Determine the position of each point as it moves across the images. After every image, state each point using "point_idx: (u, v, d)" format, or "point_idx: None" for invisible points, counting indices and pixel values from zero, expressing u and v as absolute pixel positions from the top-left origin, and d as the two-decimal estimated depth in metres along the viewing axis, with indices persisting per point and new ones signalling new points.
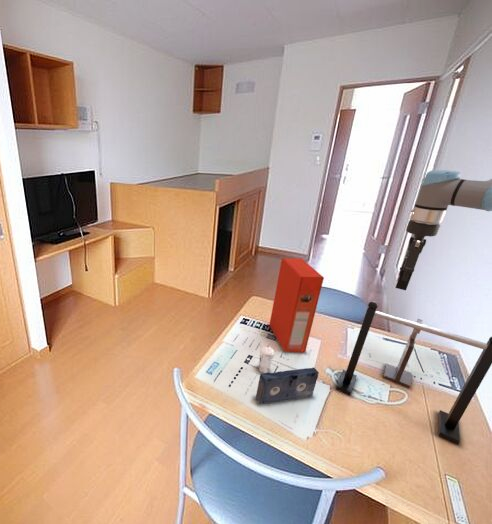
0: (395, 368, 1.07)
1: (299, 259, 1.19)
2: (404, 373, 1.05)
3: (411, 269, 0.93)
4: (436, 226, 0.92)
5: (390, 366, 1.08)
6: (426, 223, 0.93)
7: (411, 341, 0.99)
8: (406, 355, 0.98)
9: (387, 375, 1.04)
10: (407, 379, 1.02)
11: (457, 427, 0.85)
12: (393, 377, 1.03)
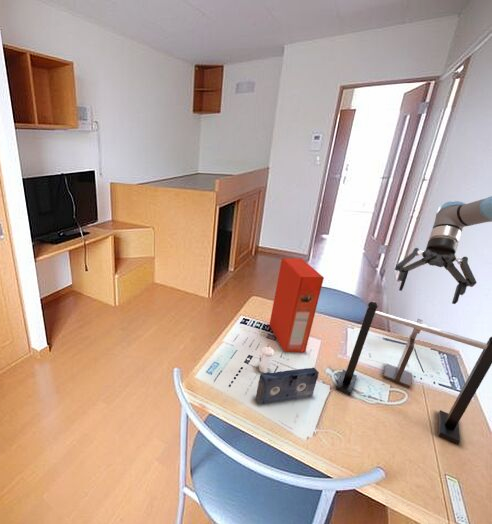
0: (395, 368, 1.07)
1: (299, 259, 1.19)
2: (404, 373, 1.05)
3: None
4: (436, 237, 1.05)
5: (390, 366, 1.08)
6: None
7: (411, 341, 0.99)
8: (406, 355, 0.98)
9: (387, 375, 1.04)
10: (407, 379, 1.02)
11: (457, 427, 0.85)
12: (393, 377, 1.03)
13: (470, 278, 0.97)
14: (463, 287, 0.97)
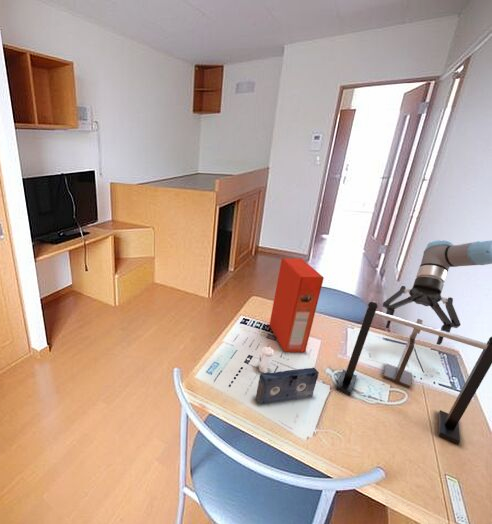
0: (395, 368, 1.07)
1: (299, 259, 1.19)
2: (404, 373, 1.05)
3: None
4: (422, 277, 1.07)
5: (390, 366, 1.08)
6: (418, 277, 1.09)
7: (411, 341, 0.99)
8: (406, 355, 0.98)
9: (387, 375, 1.04)
10: (407, 379, 1.02)
11: (457, 427, 0.85)
12: (393, 377, 1.03)
13: (454, 320, 0.99)
14: (447, 328, 0.99)
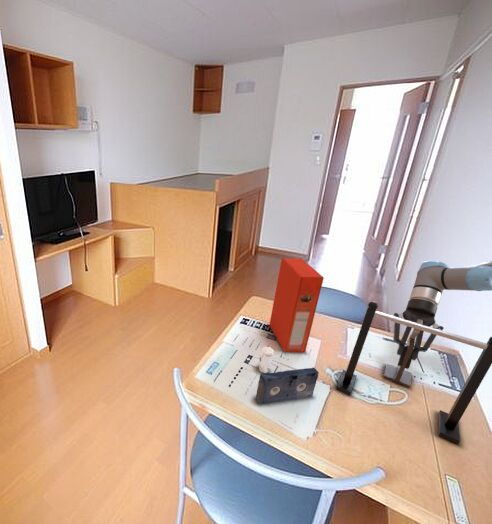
0: (395, 368, 1.07)
1: (299, 259, 1.19)
2: (404, 373, 1.05)
3: None
4: (416, 299, 1.04)
5: (390, 366, 1.08)
6: (411, 299, 1.06)
7: (411, 341, 0.99)
8: (406, 355, 0.98)
9: (387, 375, 1.04)
10: (407, 379, 1.02)
11: (457, 427, 0.85)
12: (393, 377, 1.03)
13: (426, 344, 0.98)
14: (415, 353, 0.99)
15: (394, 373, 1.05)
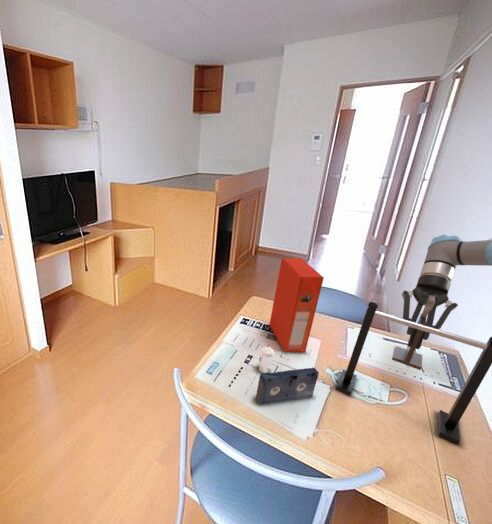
0: (404, 350, 1.00)
1: (299, 259, 1.19)
2: (414, 355, 0.98)
3: None
4: (427, 275, 0.96)
5: (399, 348, 1.01)
6: (421, 275, 0.99)
7: (422, 319, 0.91)
8: (417, 334, 0.91)
9: (396, 357, 0.97)
10: (418, 361, 0.95)
11: (457, 427, 0.85)
12: (402, 359, 0.96)
13: (438, 322, 0.91)
14: (427, 332, 0.92)
15: (403, 355, 0.97)
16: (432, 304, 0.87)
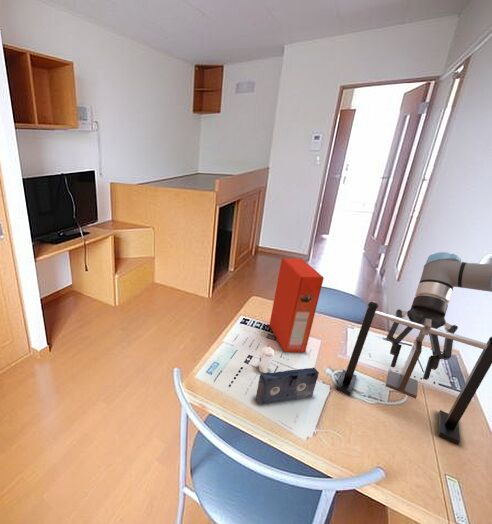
0: (399, 375, 0.93)
1: (299, 259, 1.19)
2: (409, 381, 0.91)
3: None
4: (423, 296, 0.90)
5: (393, 373, 0.94)
6: (417, 296, 0.92)
7: (418, 344, 0.85)
8: (412, 360, 0.84)
9: (390, 383, 0.90)
10: (413, 388, 0.88)
11: (457, 427, 0.85)
12: (397, 386, 0.89)
13: (446, 350, 0.83)
14: (436, 361, 0.84)
15: (398, 381, 0.91)
16: (428, 329, 0.81)
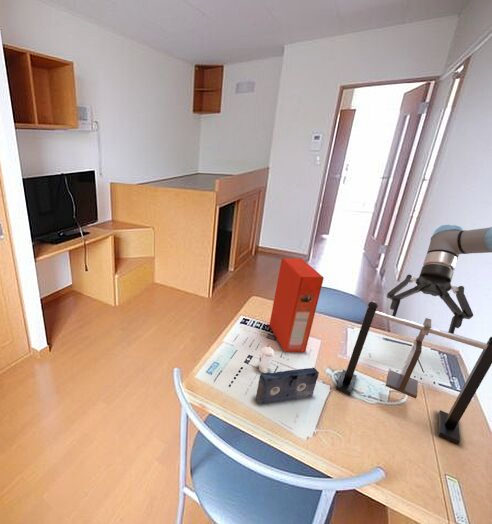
0: (399, 375, 0.93)
1: (299, 259, 1.19)
2: (409, 381, 0.91)
3: None
4: (430, 264, 0.98)
5: (393, 372, 0.94)
6: (425, 265, 1.01)
7: (418, 344, 0.85)
8: (412, 360, 0.84)
9: (390, 383, 0.90)
10: (413, 388, 0.88)
11: (457, 427, 0.85)
12: (397, 386, 0.89)
13: (466, 310, 0.90)
14: (459, 320, 0.90)
15: (398, 381, 0.91)
16: (428, 329, 0.81)
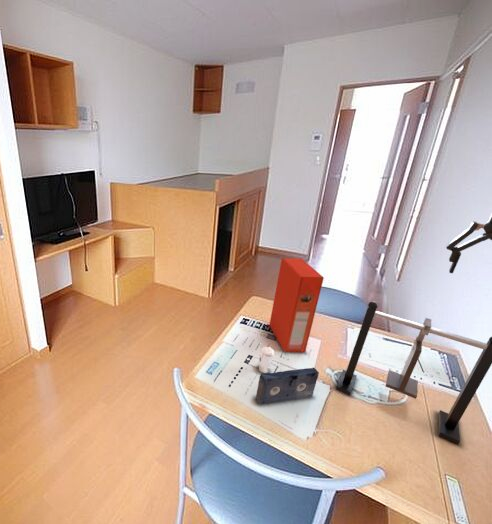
0: (399, 375, 0.93)
1: (299, 259, 1.19)
2: (409, 381, 0.91)
3: (447, 246, 0.95)
4: None
5: (393, 373, 0.94)
6: None
7: (418, 344, 0.85)
8: (412, 360, 0.84)
9: (390, 383, 0.90)
10: (413, 388, 0.88)
11: (457, 427, 0.85)
12: (397, 386, 0.89)
13: None
14: None
15: (398, 381, 0.91)
16: (428, 329, 0.81)
